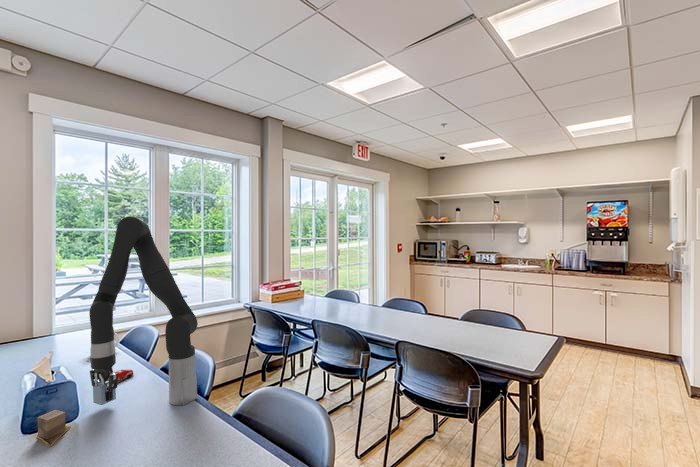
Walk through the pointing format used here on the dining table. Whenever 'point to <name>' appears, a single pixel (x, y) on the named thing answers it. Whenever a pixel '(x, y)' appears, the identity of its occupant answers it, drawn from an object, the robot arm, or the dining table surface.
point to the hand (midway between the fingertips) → (104, 398)
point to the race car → (124, 374)
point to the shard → (53, 438)
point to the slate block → (101, 394)
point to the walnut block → (51, 424)
